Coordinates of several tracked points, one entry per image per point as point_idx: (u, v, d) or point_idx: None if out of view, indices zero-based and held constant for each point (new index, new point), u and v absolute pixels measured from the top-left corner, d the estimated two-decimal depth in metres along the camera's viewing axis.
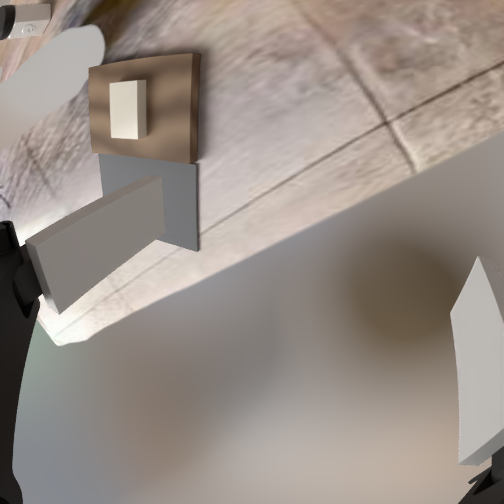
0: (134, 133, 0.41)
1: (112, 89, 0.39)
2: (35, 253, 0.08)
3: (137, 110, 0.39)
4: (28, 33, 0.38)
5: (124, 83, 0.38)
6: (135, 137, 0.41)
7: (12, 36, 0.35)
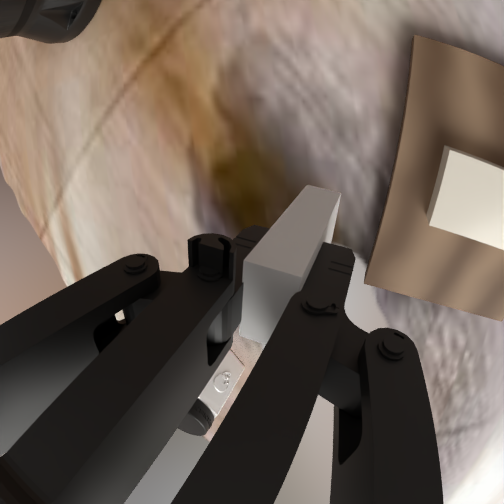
0: None
1: (443, 221, 0.20)
2: (265, 276, 0.08)
3: (501, 169, 0.16)
4: (229, 384, 0.40)
5: (444, 185, 0.19)
6: None
7: (217, 408, 0.37)
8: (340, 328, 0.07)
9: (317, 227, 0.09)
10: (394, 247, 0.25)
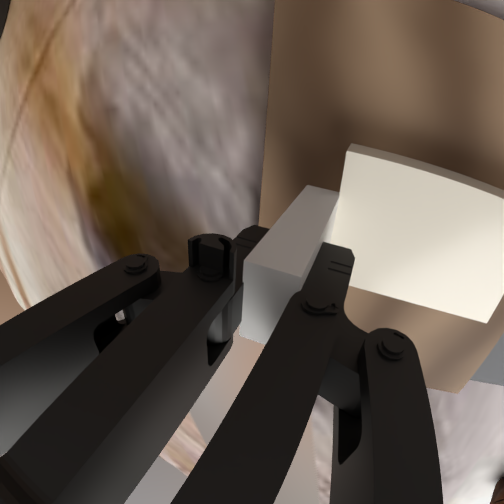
0: None
1: None
2: (265, 276, 0.08)
3: (456, 181, 0.10)
4: None
5: (342, 213, 0.12)
6: None
7: None
8: (340, 328, 0.07)
9: (317, 227, 0.09)
10: None
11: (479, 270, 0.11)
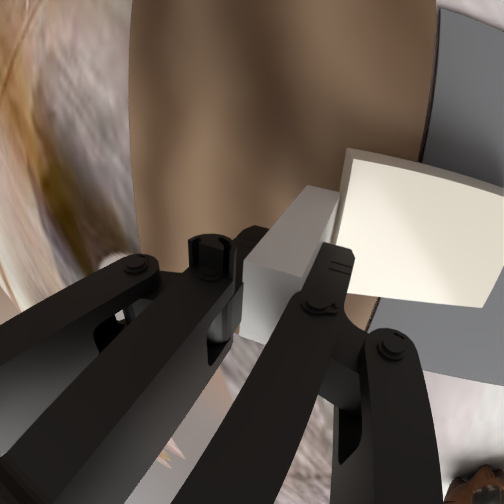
0: None
1: (351, 281, 0.13)
2: (265, 276, 0.08)
3: (457, 182, 0.10)
4: None
5: (348, 223, 0.12)
6: None
7: None
8: (340, 328, 0.07)
9: (317, 227, 0.09)
10: (158, 259, 0.21)
11: (476, 262, 0.12)
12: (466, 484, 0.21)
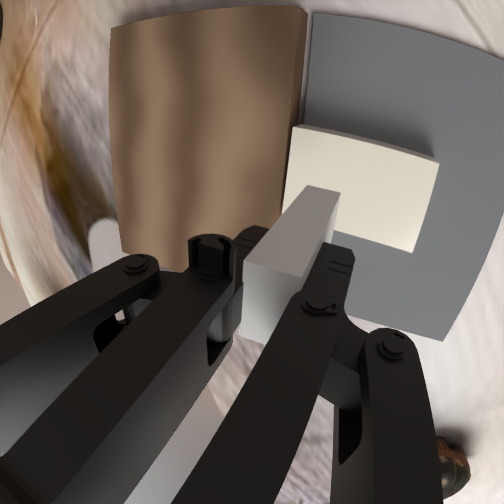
0: (422, 171, 0.15)
1: None
2: (265, 276, 0.08)
3: (368, 143, 0.16)
4: None
5: (292, 168, 0.19)
6: (433, 170, 0.15)
7: None
8: (340, 328, 0.07)
9: (317, 227, 0.09)
10: (128, 216, 0.27)
11: (395, 207, 0.17)
12: None
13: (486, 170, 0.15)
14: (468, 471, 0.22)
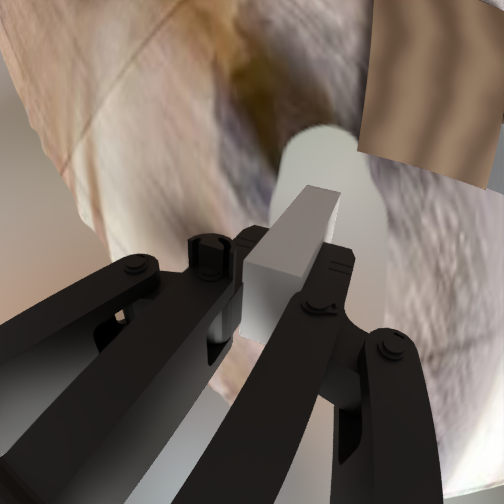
0: None
1: None
2: (265, 276, 0.08)
3: None
4: None
5: None
6: None
7: None
8: (340, 328, 0.07)
9: (317, 227, 0.09)
10: (377, 116, 0.29)
11: None
12: None
13: None
14: None
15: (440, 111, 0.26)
